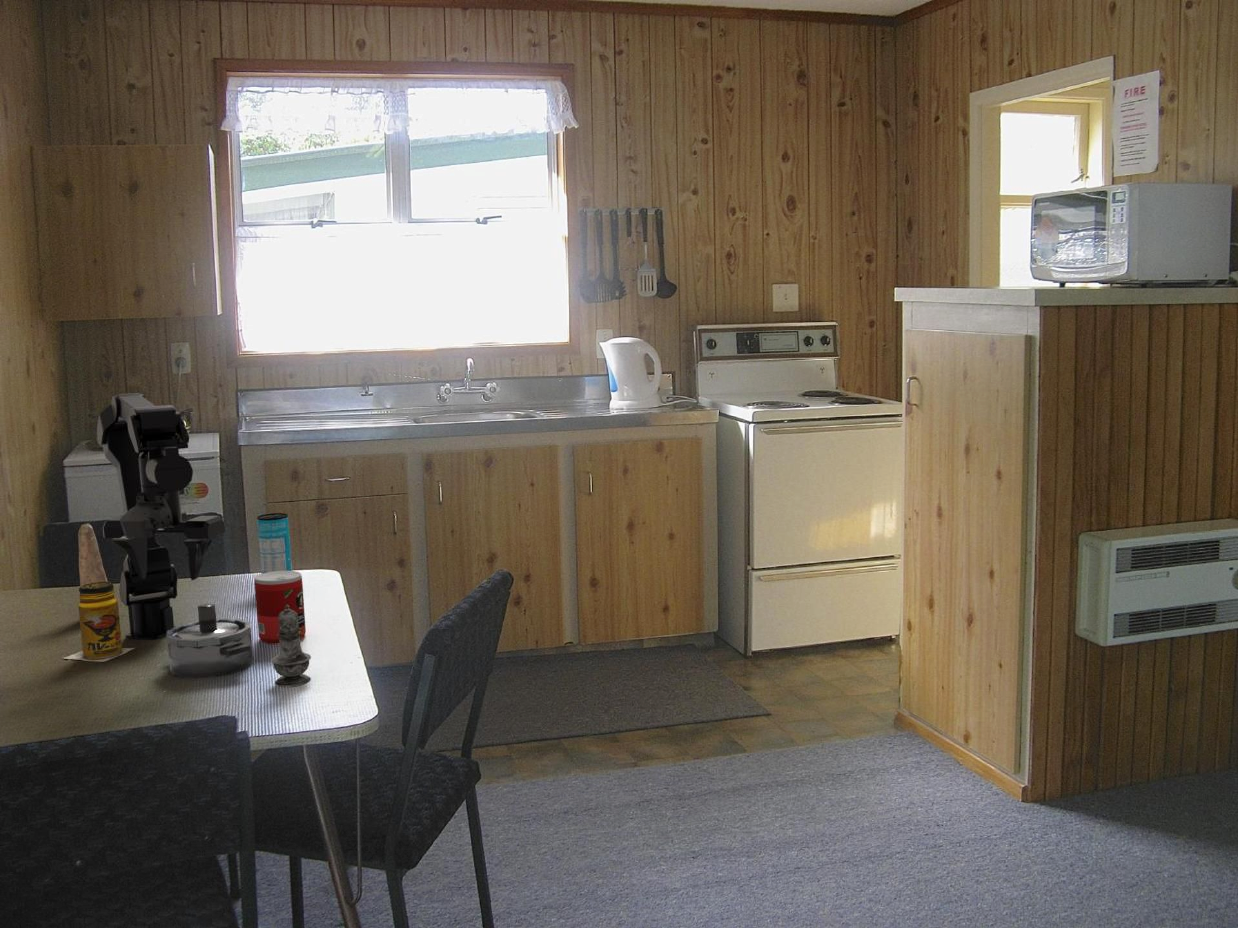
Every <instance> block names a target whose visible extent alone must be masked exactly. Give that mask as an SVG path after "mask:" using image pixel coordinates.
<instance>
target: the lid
mask: <svg viewBox="0 0 1238 928" xmlns="http://www.w3.org/2000/svg"><path fill="white" fill-rule="evenodd" d="M197 615H198V621H199V625H196V626H192V627H188V628H185V629H183V630H181V631H180V632H179V633H178V638H181V639H204V638H213V637H220V636H224V635H228V634H232V633H236V632H238V631H239V626H238V625H236V624H233V623H222V622H221V623H217V622H216V619H217V613H216V604H215V603H204V604H200V605H197Z"/></svg>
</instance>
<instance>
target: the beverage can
mask: <svg viewBox="0 0 1238 928" xmlns="http://www.w3.org/2000/svg"><path fill="white" fill-rule="evenodd" d="M256 519H257V535H258V549H259V560H260V561H259V562H260V572H261V573H260V574H263V573H267V572H273V571H293V568H292V567H293V566H292V565H293V564H292V553H291V551H292V550H291V539H290V538H291V537H290V525H289V515H288V513H285V512H283V513H282V512H273V513H265V514H260V515H258V516H256Z"/></svg>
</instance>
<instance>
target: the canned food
mask: <svg viewBox="0 0 1238 928" xmlns="http://www.w3.org/2000/svg"><path fill="white" fill-rule="evenodd" d="M254 595H255V608H256V620H257V631H258V638H259V640H260V642H262V643H264V644H268V645H280V642H279V637H277V634H278V633H279V622H278V615H279V614H280V613H281V612H282V611H284V610H285V609H286V608H285V607H286V605H287V604H288V605H289V606H290V607H289V609H291V610H293V611H295V612H296V613H297V614H298V625H299V631H300V632H302V634H301V635H300V641H301V640H303V639H304V637H305V636H306V632H307V631H306V617H305V602H304V601H305V599H304V585H303V576H302V572H299V571H295V570H292V571H273V572H267V573H263V574H261V573H260V574H257V575H256V576H254Z"/></svg>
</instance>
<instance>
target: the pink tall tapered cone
mask: <svg viewBox="0 0 1238 928" xmlns="http://www.w3.org/2000/svg"><path fill="white" fill-rule="evenodd" d="M77 534H78V570H79V571H78V573H79V583H80V584H79V585H80V587H81V586H82V585H85V584H88V583H94V582H109V581H108V578H107V575H106V572H105V569H104V566H103V560H102V557H101V553H100V549H99V548H100V547H99V544H98V540H97V537H96V534H95V531H94V528H93V526H92V525H91V524H90V523H85V524H82V525H80V527H79V530H78V533H77ZM80 587H79V588H80Z"/></svg>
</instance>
